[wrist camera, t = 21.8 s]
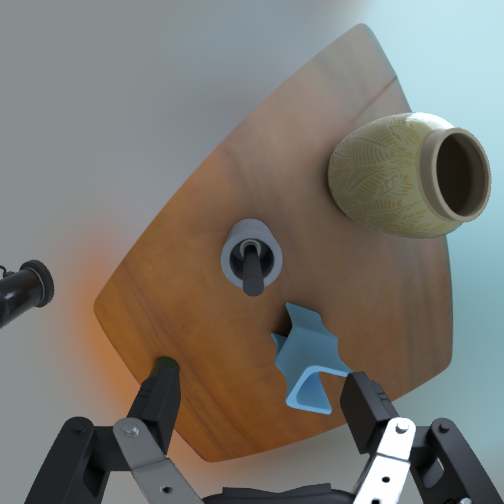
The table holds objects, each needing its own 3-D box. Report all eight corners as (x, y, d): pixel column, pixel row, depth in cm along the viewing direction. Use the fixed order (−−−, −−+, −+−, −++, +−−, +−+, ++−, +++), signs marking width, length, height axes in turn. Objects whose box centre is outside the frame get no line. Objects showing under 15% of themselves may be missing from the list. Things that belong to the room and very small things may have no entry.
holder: (156, 374, 55) (147, 397, 47) (154, 355, 54) (143, 377, 46) (180, 378, 55) (172, 401, 47) (178, 358, 54) (170, 381, 46)
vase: (300, 180, 47) (363, 171, 21) (357, 113, 44) (445, 62, 18) (367, 243, 50) (460, 291, 23) (416, 177, 47) (521, 180, 21)
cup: (226, 261, 50) (219, 288, 36) (228, 217, 48) (221, 228, 34) (270, 263, 50) (279, 291, 36) (273, 219, 48) (285, 231, 35)
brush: (239, 250, 48) (235, 301, 26) (240, 232, 48) (237, 269, 26) (258, 251, 49) (269, 303, 27) (259, 233, 48) (272, 270, 26)
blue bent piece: (305, 347, 54) (329, 414, 35) (270, 336, 53) (281, 405, 34) (323, 314, 53) (358, 375, 33) (286, 301, 52) (308, 362, 32)
